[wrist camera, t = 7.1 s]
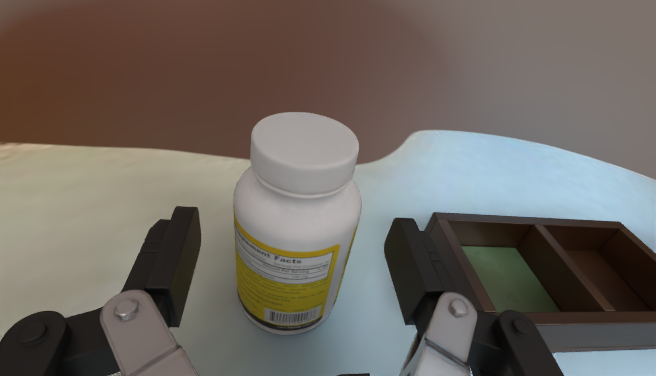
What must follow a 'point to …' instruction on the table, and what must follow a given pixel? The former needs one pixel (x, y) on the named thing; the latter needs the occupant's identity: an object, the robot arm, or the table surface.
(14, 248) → the table surface
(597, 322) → the divided box
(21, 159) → the table surface
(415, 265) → the robot arm
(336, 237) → the supplement bottle
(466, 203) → the table surface
